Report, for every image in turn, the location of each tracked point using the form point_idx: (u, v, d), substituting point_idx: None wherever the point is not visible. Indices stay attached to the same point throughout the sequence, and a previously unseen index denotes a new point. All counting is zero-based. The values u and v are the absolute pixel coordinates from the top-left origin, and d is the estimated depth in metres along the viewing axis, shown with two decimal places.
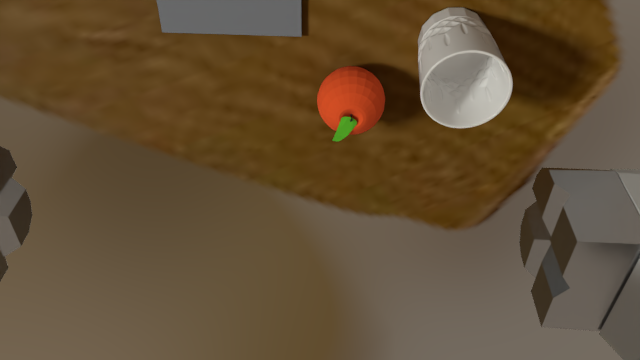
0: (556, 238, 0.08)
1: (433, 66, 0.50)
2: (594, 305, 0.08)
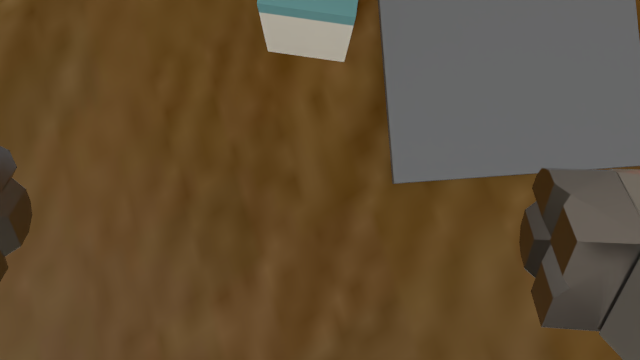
0: (556, 238, 0.08)
1: None
2: (594, 305, 0.08)
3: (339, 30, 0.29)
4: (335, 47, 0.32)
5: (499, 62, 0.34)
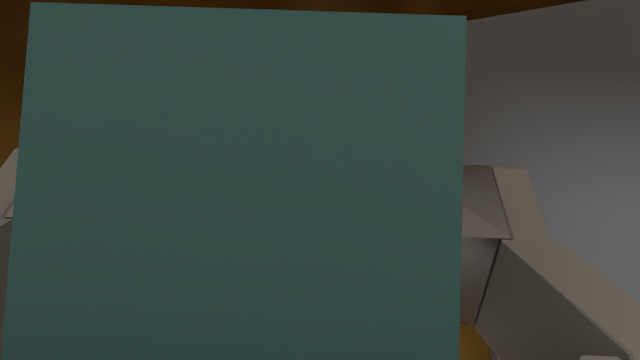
0: None
1: None
2: (465, 299, 0.08)
3: None
4: None
5: None
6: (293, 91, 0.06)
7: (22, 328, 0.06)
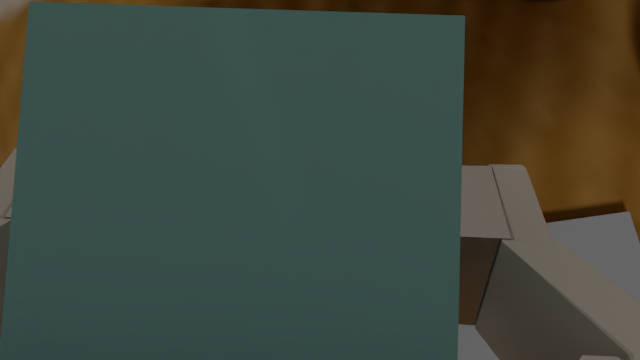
0: None
1: None
2: (465, 299, 0.08)
3: None
4: None
5: None
6: (291, 91, 0.06)
7: (21, 328, 0.06)
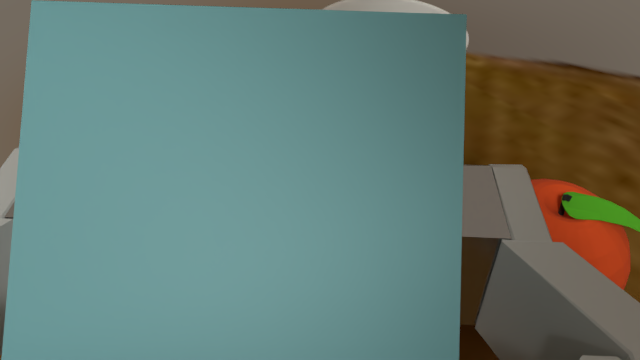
0: None
1: None
2: (465, 299, 0.08)
3: None
4: None
5: None
6: (293, 90, 0.06)
7: (23, 326, 0.06)
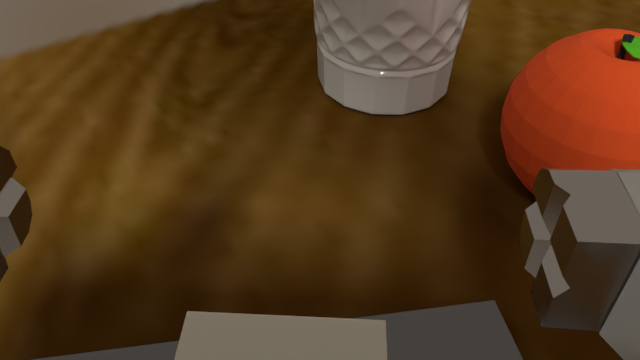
0: (556, 238, 0.08)
1: None
2: (594, 305, 0.08)
3: None
4: None
5: None
6: None
7: None
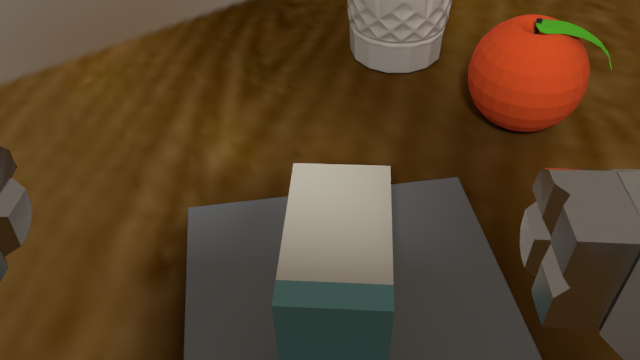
0: (556, 238, 0.08)
1: None
2: (594, 305, 0.08)
3: None
4: None
5: None
6: (346, 323, 0.22)
7: (282, 354, 0.24)
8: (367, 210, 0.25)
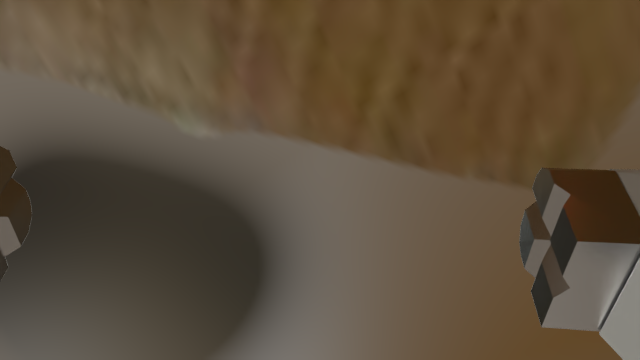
0: (556, 238, 0.08)
1: None
2: (594, 305, 0.08)
3: None
4: None
5: None
6: None
7: None
8: None
